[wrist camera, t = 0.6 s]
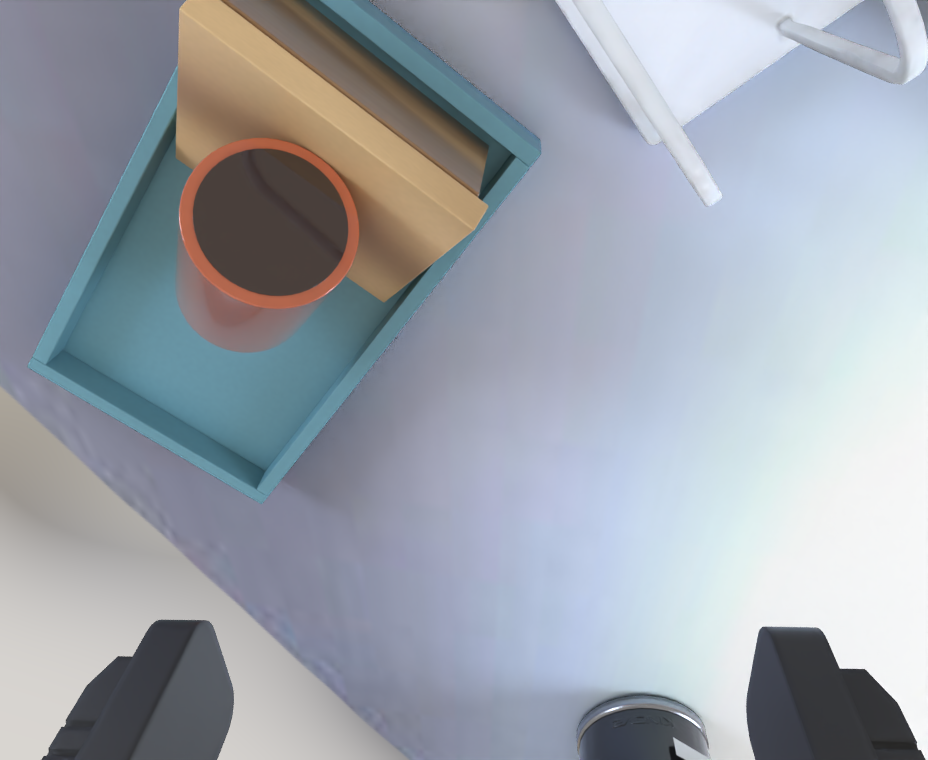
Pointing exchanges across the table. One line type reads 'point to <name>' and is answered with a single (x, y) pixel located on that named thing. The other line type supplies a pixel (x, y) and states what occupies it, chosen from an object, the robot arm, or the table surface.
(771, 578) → the table surface
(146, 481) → the table surface
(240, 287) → the orange cylinder
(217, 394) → the tray
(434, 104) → the wooden stand
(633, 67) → the file sorter
